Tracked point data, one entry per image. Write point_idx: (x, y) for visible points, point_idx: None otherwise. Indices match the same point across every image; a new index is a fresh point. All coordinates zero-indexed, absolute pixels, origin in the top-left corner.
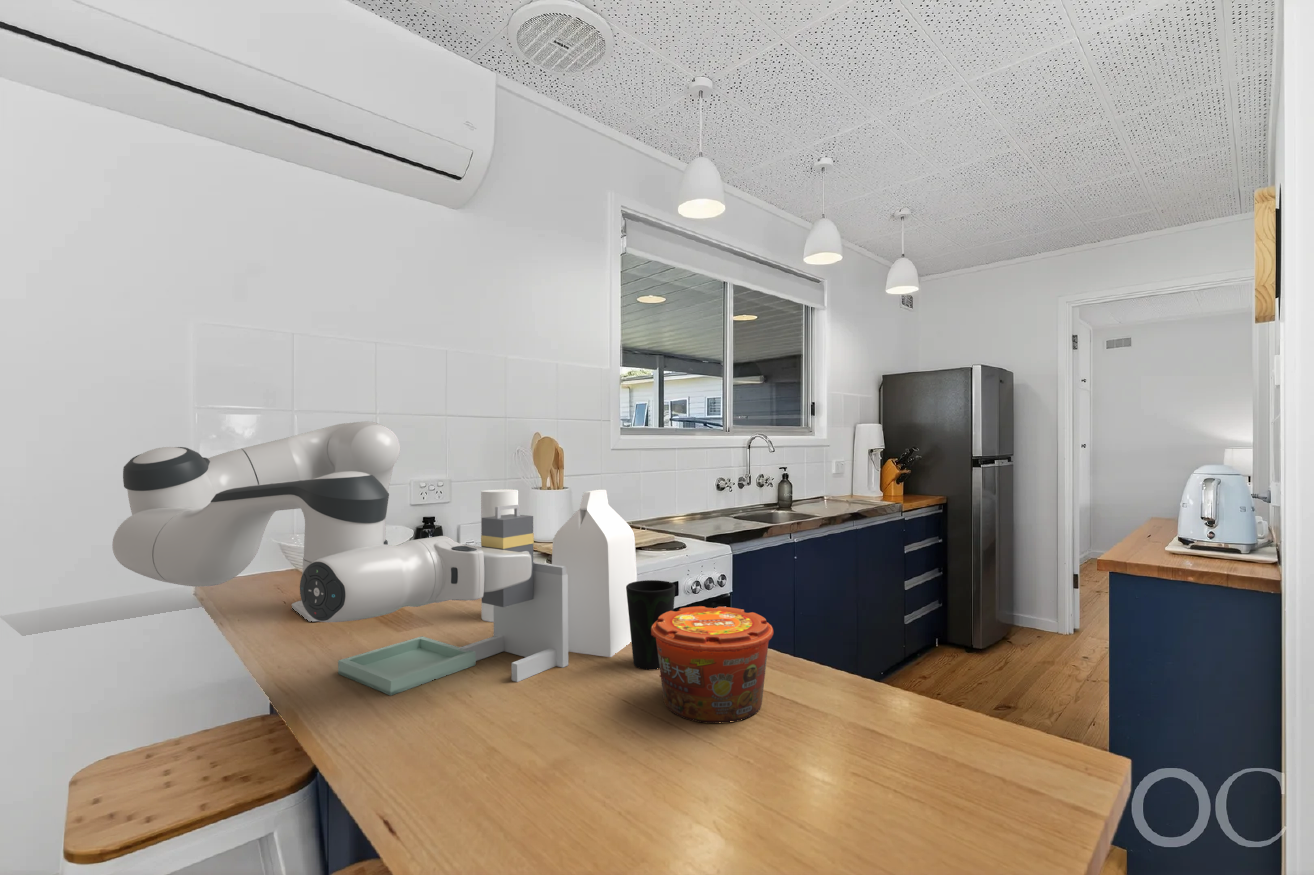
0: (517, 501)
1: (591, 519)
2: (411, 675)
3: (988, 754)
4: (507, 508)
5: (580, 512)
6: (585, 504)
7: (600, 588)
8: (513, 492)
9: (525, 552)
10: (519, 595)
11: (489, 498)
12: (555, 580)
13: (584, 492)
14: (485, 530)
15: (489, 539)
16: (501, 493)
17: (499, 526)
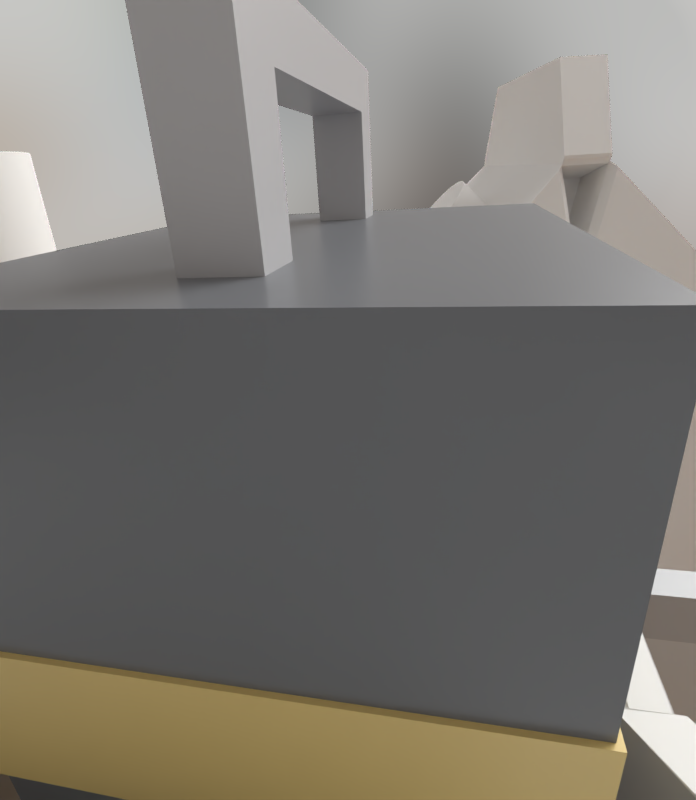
0: (42, 201)
1: (650, 218)
2: None
3: None
4: (324, 72)
5: (562, 185)
6: (596, 131)
7: (668, 542)
8: (16, 158)
9: (646, 648)
10: None
11: None
12: (689, 675)
13: (567, 59)
14: (7, 577)
15: (167, 725)
16: None
17: (484, 507)
